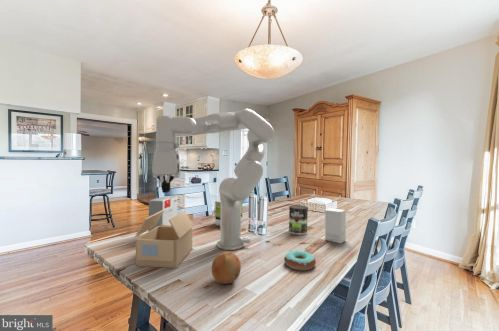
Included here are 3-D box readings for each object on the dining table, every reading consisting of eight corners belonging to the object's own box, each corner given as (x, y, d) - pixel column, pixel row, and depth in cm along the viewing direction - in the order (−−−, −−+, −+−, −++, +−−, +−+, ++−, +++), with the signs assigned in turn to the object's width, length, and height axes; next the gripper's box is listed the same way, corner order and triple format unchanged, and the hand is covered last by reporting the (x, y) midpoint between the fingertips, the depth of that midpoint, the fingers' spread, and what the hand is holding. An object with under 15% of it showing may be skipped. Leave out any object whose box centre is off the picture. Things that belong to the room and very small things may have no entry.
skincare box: (345, 240, 122) (346, 210, 122) (340, 244, 118) (341, 212, 117) (329, 236, 128) (330, 207, 128) (324, 240, 123) (324, 209, 123)
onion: (222, 272, 88) (223, 244, 87) (246, 279, 83) (246, 250, 82) (204, 284, 79) (205, 254, 79) (230, 293, 74) (230, 260, 74)
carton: (192, 248, 109) (193, 226, 109) (175, 269, 90) (175, 241, 89) (158, 247, 111) (158, 224, 110) (134, 266, 91) (134, 239, 91)
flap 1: (155, 225, 109) (164, 210, 108) (136, 237, 93) (146, 219, 92) (154, 224, 109) (163, 209, 108) (135, 236, 93) (145, 218, 92)
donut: (293, 256, 103) (293, 246, 103) (320, 264, 96) (321, 254, 95) (278, 265, 94) (278, 255, 94) (306, 275, 86) (307, 264, 86)
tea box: (230, 219, 161) (230, 197, 160) (242, 222, 155) (243, 199, 154) (214, 224, 149) (214, 200, 148) (227, 227, 143) (227, 202, 142)
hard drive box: (162, 242, 117) (162, 201, 116) (147, 241, 118) (147, 200, 118) (177, 232, 132) (177, 196, 131) (165, 231, 134) (164, 195, 133)
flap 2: (193, 226, 107) (184, 210, 107) (180, 238, 91) (169, 219, 91) (192, 226, 107) (183, 210, 107) (178, 238, 91) (168, 220, 91)
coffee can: (305, 235, 130) (306, 209, 129) (286, 233, 133) (287, 207, 133) (308, 230, 139) (309, 205, 139) (290, 228, 143) (291, 204, 142)
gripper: (187, 147, 102) (187, 191, 102) (152, 147, 103) (152, 190, 104) (180, 146, 94) (180, 194, 95) (143, 146, 96) (143, 193, 96)
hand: (166, 192), depth 99 cm, fingers closed
